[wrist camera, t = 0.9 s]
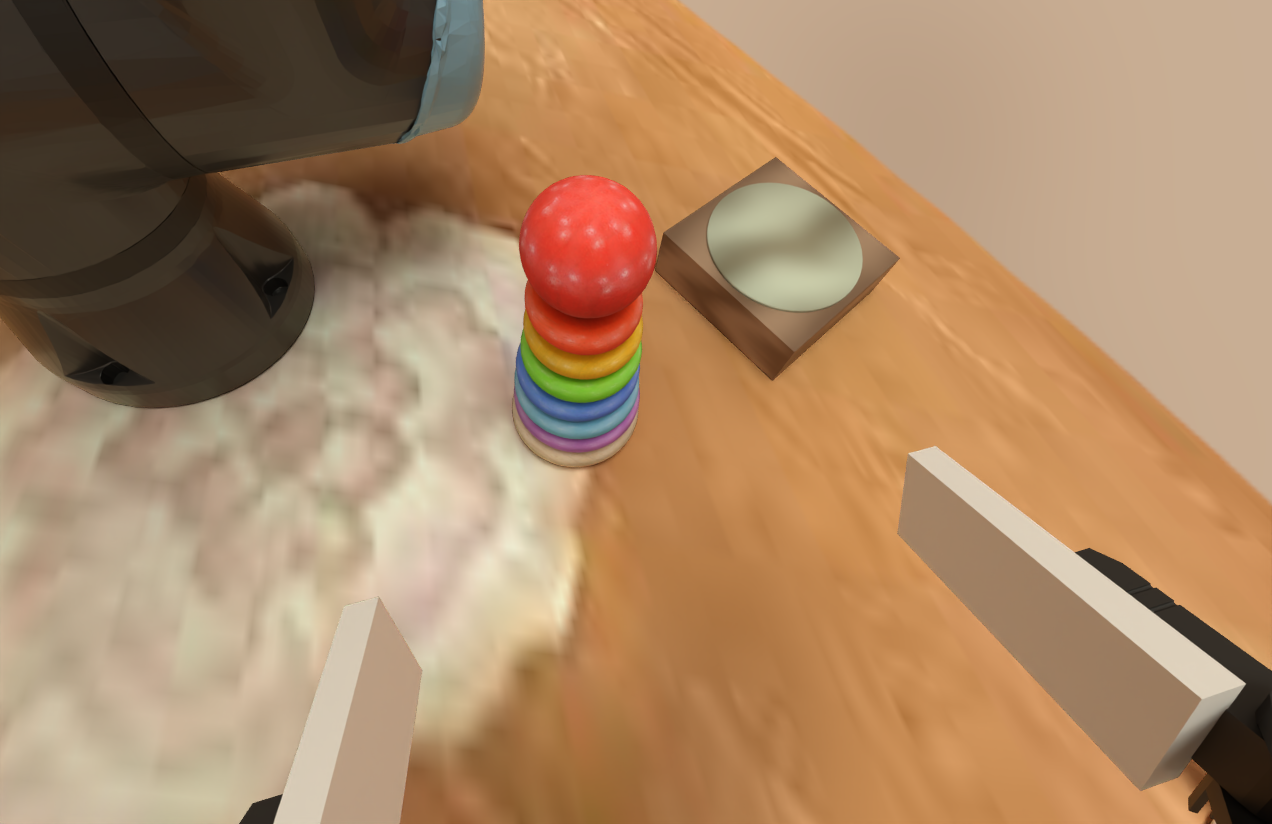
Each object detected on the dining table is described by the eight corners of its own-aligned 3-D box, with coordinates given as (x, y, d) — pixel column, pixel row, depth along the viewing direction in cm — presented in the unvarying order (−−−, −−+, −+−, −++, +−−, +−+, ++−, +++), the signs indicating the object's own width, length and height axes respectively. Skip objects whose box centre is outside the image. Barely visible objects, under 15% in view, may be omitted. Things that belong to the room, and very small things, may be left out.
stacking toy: (494, 448, 33) (414, 242, 16) (540, 343, 36) (514, 80, 19) (615, 487, 33) (663, 322, 16) (650, 379, 36) (722, 146, 19)
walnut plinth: (654, 270, 40) (664, 229, 36) (758, 196, 44) (777, 153, 40) (772, 380, 37) (796, 349, 33) (871, 291, 42) (902, 255, 38)
